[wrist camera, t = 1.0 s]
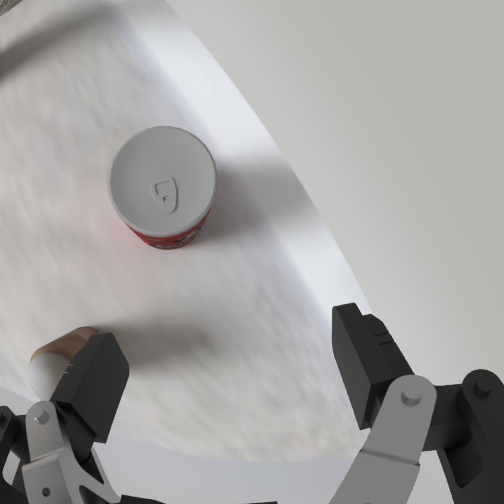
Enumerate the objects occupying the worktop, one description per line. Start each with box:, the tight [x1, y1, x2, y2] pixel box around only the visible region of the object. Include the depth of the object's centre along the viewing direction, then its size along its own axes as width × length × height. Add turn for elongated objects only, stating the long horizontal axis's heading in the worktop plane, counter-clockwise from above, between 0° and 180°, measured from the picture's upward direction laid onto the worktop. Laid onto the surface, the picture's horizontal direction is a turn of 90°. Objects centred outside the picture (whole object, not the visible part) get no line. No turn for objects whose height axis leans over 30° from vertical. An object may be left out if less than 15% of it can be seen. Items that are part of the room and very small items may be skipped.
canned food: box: [108, 126, 217, 250], centre depth 23 cm, size 8×8×11 cm
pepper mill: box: [28, 327, 100, 401], centre depth 20 cm, size 5×5×10 cm
